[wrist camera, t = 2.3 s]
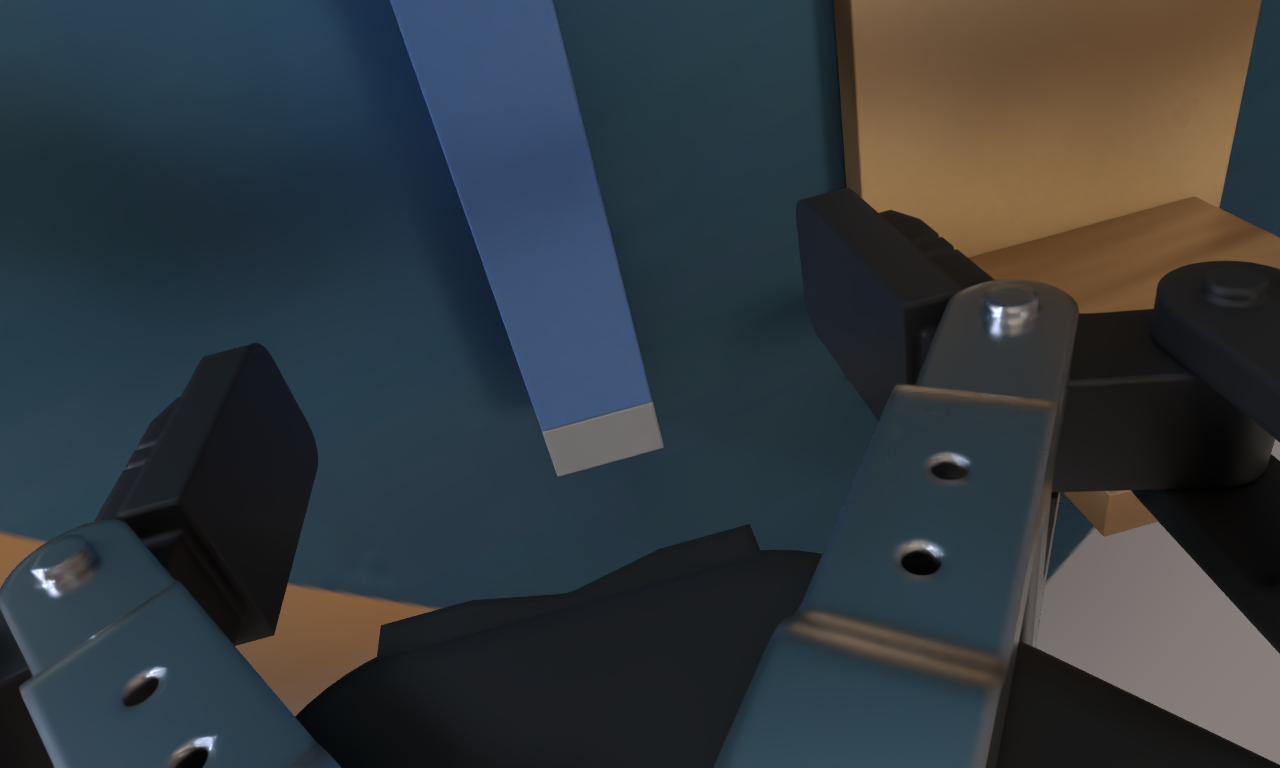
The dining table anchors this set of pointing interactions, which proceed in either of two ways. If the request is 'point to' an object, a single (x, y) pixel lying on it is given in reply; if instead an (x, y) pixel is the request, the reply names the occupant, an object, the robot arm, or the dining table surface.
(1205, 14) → the holder
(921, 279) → the robot arm
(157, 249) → the dining table surface
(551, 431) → the handle
